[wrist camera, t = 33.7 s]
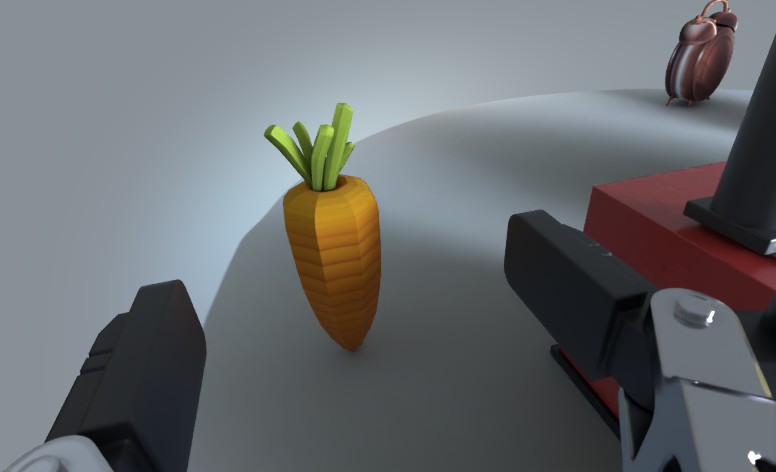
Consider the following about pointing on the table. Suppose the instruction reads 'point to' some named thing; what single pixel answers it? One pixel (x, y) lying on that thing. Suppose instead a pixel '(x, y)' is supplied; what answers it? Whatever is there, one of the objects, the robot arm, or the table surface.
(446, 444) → the table surface
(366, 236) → the carrot
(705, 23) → the alarm clock
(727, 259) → the knife block
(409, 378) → the table surface
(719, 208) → the slider
